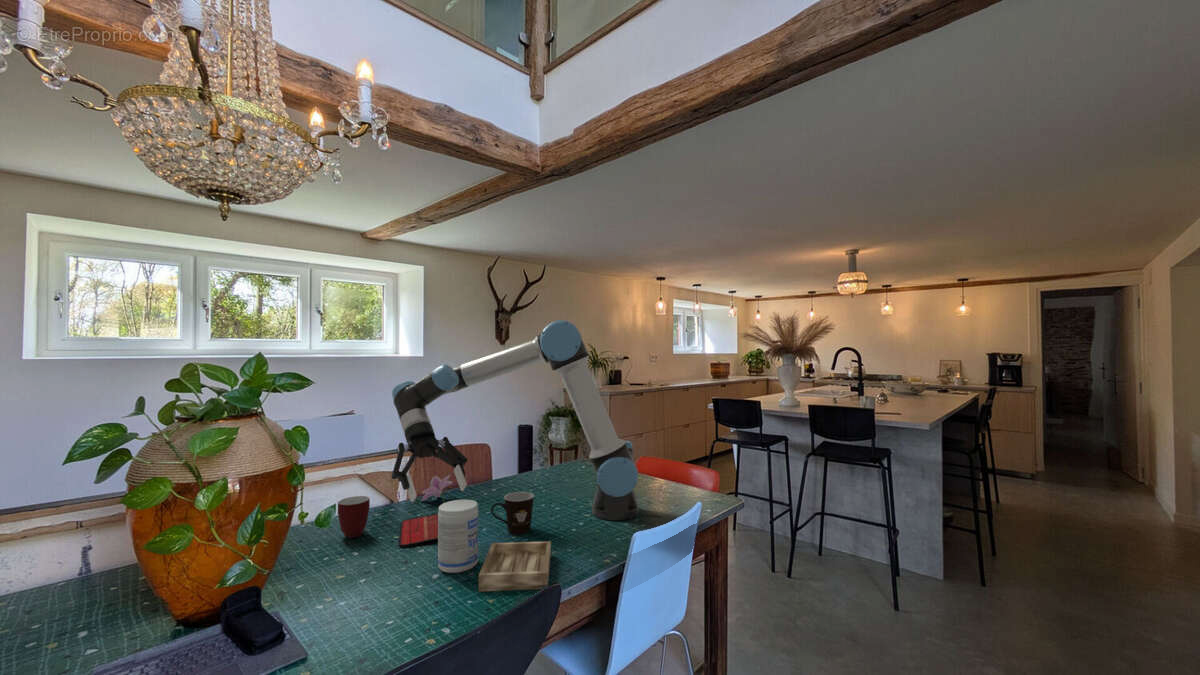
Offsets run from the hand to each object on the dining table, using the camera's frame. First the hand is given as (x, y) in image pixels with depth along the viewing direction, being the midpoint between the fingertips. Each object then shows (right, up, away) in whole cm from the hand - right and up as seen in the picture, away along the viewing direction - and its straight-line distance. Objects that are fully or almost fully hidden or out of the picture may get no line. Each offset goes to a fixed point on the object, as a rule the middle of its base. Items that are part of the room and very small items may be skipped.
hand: (440, 493), depth 121 cm
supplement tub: (+7, -16, -7) cm, 18 cm away
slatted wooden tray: (+22, -15, -11) cm, 29 cm away
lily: (-15, -17, +42) cm, 47 cm away
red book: (-8, -17, +15) cm, 24 cm away
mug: (-29, -16, +13) cm, 36 cm away
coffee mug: (+17, -16, +14) cm, 27 cm away
